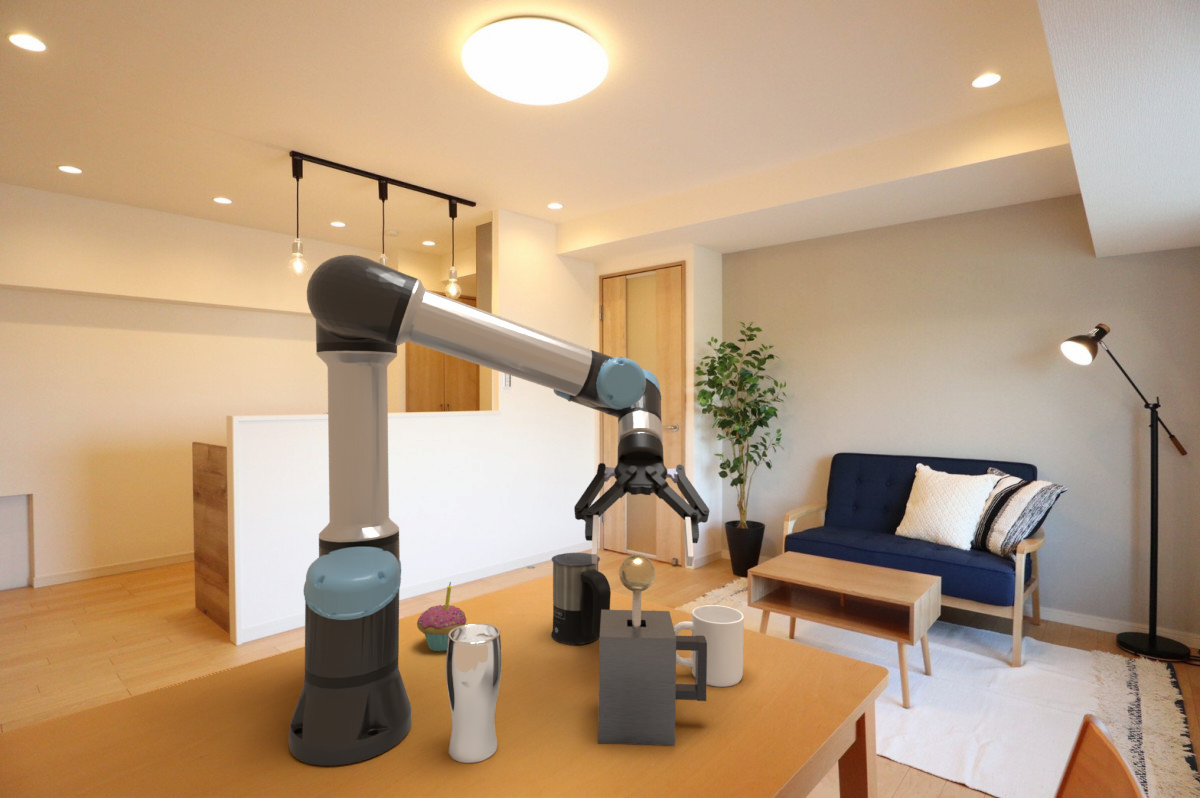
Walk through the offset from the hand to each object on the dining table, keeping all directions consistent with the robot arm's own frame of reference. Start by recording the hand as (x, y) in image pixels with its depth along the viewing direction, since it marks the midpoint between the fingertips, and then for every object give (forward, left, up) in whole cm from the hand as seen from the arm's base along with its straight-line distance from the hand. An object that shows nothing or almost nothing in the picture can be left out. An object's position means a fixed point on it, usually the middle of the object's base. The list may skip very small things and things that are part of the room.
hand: (642, 560), depth 86 cm
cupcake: (-35, +22, -22) cm, 47 cm away
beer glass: (-22, -9, -22) cm, 33 cm away
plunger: (-1, -2, -21) cm, 21 cm away
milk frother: (-7, +29, -22) cm, 38 cm away
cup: (+11, +13, -22) cm, 28 cm away
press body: (+2, -2, -22) cm, 22 cm away
